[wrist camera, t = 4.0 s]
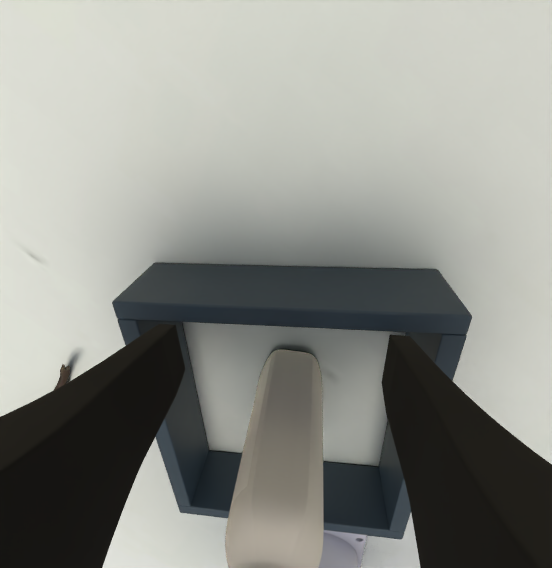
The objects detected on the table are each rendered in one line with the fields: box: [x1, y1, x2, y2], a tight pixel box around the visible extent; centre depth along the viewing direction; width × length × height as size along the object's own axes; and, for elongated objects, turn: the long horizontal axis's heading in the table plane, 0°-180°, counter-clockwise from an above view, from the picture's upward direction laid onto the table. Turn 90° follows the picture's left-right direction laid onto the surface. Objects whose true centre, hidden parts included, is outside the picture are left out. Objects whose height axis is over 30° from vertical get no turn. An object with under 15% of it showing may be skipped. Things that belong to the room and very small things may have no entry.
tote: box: [112, 263, 472, 539], centre depth 16 cm, size 15×13×4 cm
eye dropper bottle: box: [225, 349, 324, 568], centre depth 12 cm, size 4×6×12 cm
